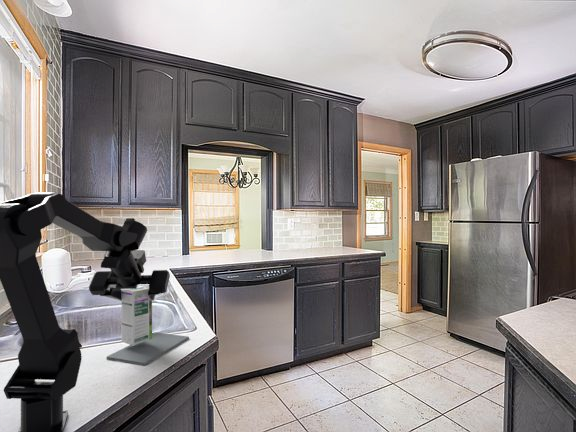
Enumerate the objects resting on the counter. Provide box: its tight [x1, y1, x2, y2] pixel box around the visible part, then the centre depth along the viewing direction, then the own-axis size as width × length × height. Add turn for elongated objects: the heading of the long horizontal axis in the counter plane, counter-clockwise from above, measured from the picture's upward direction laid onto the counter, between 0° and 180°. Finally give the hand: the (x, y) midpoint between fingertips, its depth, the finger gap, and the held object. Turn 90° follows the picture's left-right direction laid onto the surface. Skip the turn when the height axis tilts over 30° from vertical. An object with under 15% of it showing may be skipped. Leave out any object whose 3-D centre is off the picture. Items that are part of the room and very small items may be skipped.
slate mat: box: [106, 332, 190, 366], centre depth 87 cm, size 18×12×1 cm, turn 163°
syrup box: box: [121, 285, 153, 346], centre depth 88 cm, size 6×6×14 cm
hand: (138, 299), depth 89 cm, fingers closed on syrup box, 8 cm apart
